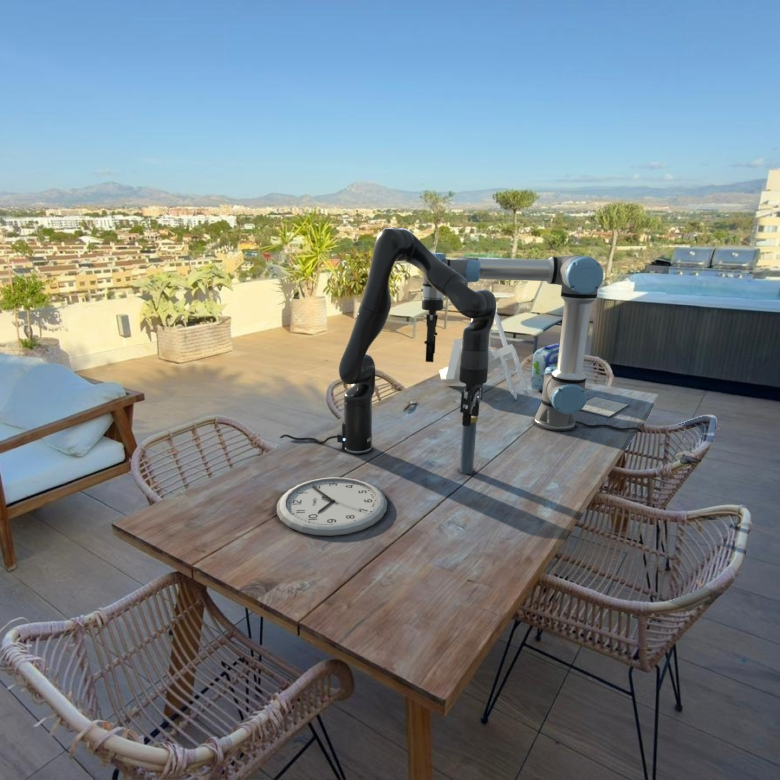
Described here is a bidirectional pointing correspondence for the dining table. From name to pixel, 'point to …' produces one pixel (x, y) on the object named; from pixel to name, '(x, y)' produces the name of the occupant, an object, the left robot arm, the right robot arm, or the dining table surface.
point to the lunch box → (543, 364)
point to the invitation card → (603, 406)
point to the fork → (411, 403)
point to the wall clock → (331, 506)
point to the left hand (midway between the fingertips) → (470, 420)
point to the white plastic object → (495, 359)
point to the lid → (473, 419)
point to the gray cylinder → (468, 449)
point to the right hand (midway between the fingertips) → (430, 357)
